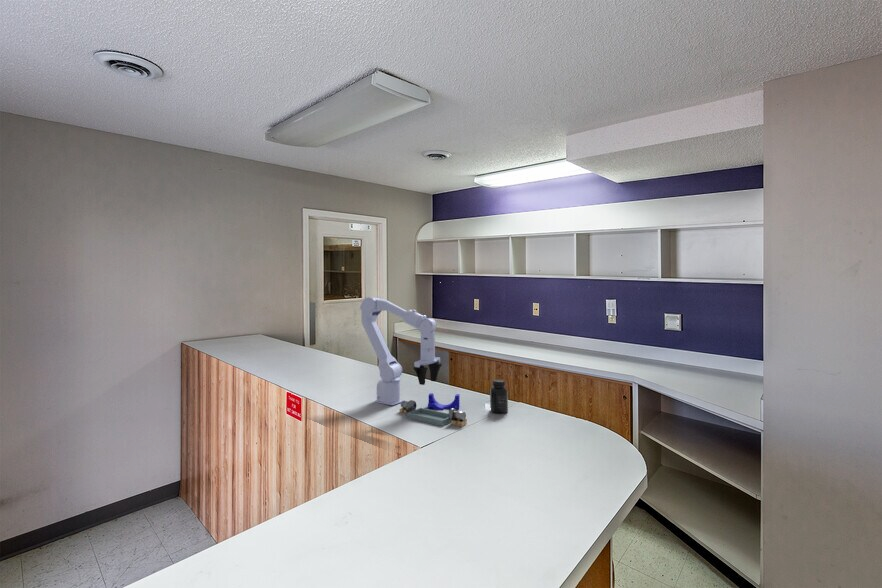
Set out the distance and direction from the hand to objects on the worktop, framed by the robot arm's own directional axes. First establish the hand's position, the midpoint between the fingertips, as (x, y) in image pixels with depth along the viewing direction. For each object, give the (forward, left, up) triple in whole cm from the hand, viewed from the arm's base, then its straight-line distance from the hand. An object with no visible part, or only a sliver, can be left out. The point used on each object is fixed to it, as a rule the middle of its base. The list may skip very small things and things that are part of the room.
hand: (427, 382), depth 164 cm
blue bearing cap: (+6, +2, -11) cm, 13 cm away
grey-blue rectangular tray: (+9, -10, -10) cm, 17 cm away
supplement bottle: (+25, +13, -11) cm, 30 cm away
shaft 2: (+18, -10, -10) cm, 23 cm away
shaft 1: (0, -10, -10) cm, 14 cm away
